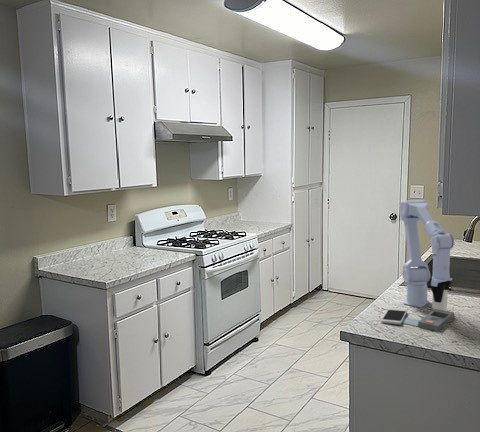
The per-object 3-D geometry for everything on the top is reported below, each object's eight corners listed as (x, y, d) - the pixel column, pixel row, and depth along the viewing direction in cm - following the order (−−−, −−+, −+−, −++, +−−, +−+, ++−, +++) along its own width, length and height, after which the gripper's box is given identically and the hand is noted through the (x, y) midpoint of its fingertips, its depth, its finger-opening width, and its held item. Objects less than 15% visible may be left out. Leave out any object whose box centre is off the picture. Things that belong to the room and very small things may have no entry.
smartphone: (407, 311, 179) (407, 309, 179) (400, 324, 165) (400, 322, 165) (389, 310, 182) (388, 307, 182) (381, 322, 169) (381, 320, 169)
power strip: (435, 313, 178) (435, 307, 177) (453, 317, 173) (454, 311, 173) (418, 326, 164) (418, 320, 164) (437, 331, 160) (438, 325, 159)
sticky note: (406, 318, 173) (406, 317, 173) (423, 321, 169) (423, 321, 169) (400, 322, 169) (400, 322, 169) (417, 326, 164) (417, 326, 164)
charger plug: (436, 305, 173) (436, 287, 172) (446, 307, 170) (447, 289, 169) (432, 308, 170) (433, 289, 169) (443, 310, 167) (444, 291, 166)
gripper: (445, 271, 160) (444, 307, 162) (458, 263, 171) (457, 297, 173) (425, 268, 165) (424, 303, 167) (439, 260, 175) (438, 294, 177)
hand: (439, 300), depth 170 cm, fingers closed on charger plug, 4 cm apart
